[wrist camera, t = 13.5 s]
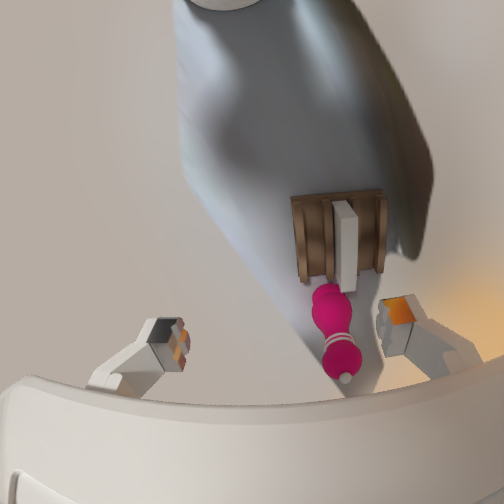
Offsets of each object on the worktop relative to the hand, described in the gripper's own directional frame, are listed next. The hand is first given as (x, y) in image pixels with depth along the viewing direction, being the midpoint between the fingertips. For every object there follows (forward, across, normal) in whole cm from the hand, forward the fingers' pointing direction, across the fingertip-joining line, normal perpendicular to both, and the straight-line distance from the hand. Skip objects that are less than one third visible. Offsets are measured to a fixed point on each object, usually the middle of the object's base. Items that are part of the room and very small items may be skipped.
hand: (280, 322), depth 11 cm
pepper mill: (+34, -7, +26) cm, 43 cm away
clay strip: (+33, -9, +13) cm, 36 cm away
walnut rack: (+34, -9, +13) cm, 37 cm away
